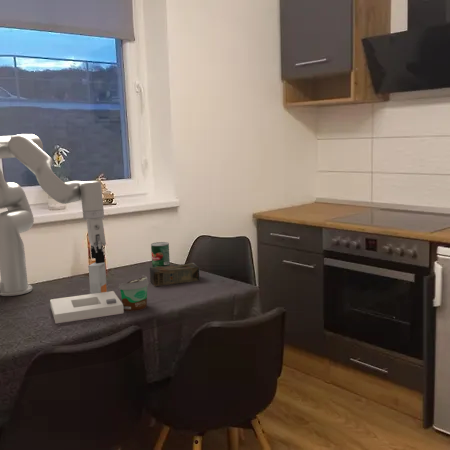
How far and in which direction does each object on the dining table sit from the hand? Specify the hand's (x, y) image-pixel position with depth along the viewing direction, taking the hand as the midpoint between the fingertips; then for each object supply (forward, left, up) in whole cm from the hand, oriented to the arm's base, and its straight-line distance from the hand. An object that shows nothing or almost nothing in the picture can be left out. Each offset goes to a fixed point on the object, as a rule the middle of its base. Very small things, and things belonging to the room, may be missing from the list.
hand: (98, 260), depth 204 cm
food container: (+9, -23, -14) cm, 28 cm away
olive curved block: (+30, +5, -14) cm, 34 cm away
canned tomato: (+31, +29, -14) cm, 45 cm away
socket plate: (-8, -17, -13) cm, 23 cm away
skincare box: (-1, 0, -14) cm, 14 cm away
